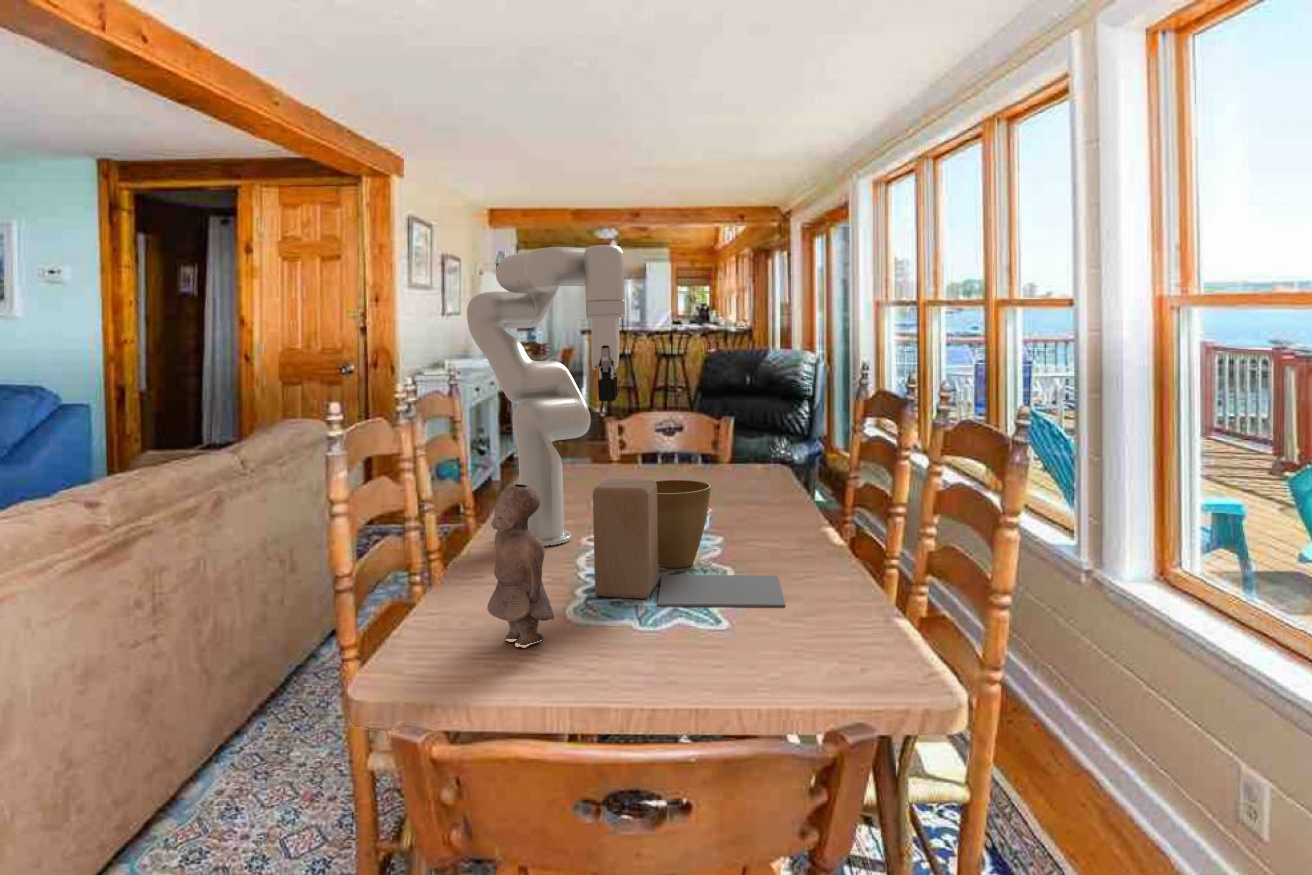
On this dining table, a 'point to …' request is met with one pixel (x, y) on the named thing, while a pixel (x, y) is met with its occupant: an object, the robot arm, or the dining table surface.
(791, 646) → the dining table surface
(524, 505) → the clay figurine
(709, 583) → the mat
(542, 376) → the robot arm
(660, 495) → the plant pot
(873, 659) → the dining table surface
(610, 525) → the block
